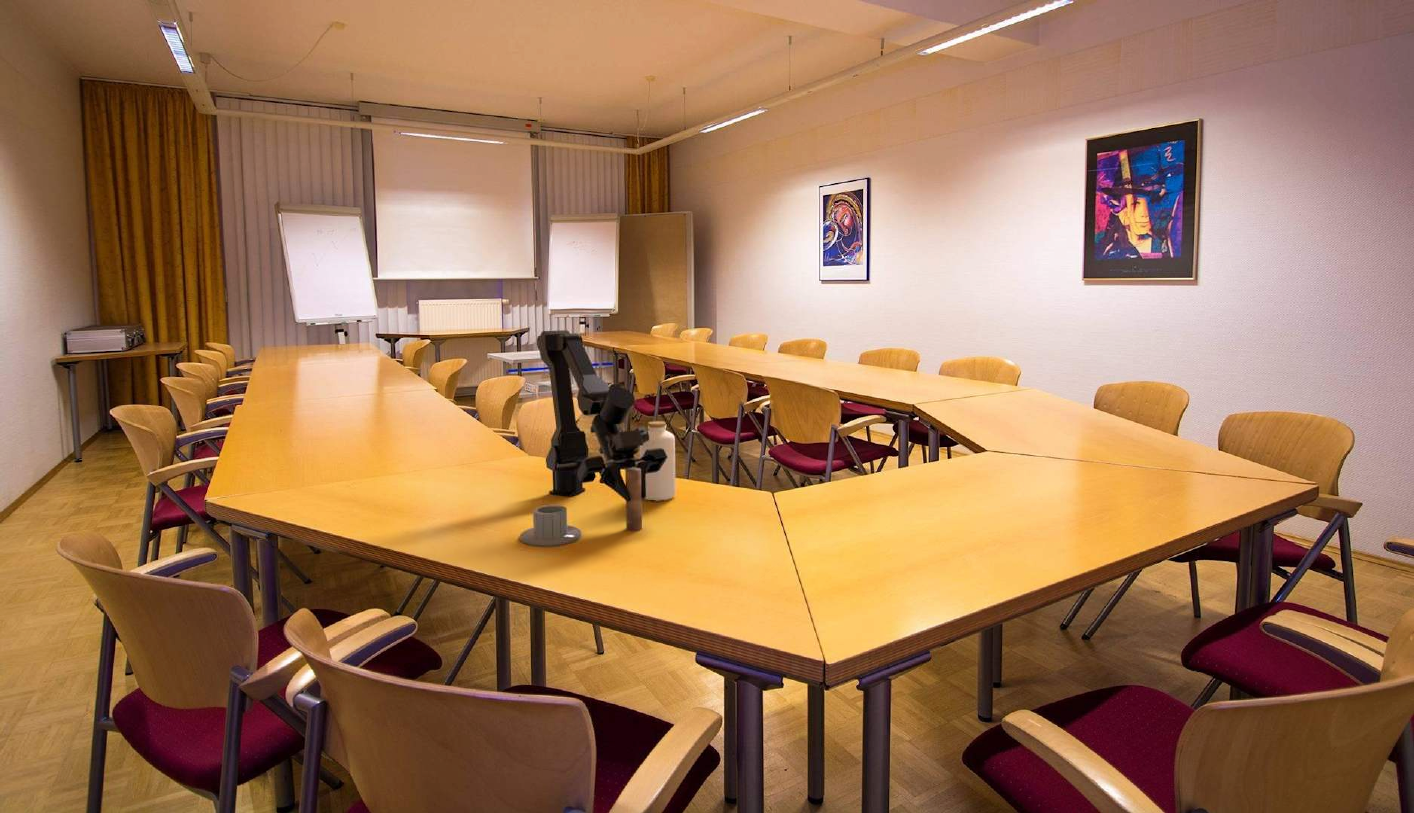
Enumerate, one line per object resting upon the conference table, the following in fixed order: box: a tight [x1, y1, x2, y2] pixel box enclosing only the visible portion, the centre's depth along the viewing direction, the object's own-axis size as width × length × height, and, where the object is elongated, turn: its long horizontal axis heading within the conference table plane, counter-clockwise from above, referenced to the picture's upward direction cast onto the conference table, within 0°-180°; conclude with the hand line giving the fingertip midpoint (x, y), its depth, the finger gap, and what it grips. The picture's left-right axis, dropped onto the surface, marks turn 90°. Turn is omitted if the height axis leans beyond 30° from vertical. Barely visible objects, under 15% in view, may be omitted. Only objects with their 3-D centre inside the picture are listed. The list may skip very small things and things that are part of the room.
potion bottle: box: [639, 420, 676, 502], centre depth 182 cm, size 8×8×18 cm
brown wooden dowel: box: [624, 468, 643, 532], centre depth 159 cm, size 3×3×12 cm
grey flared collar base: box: [519, 504, 582, 548], centre depth 154 cm, size 12×12×6 cm
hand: (636, 499), depth 158 cm, fingers closed on brown wooden dowel, 3 cm apart
